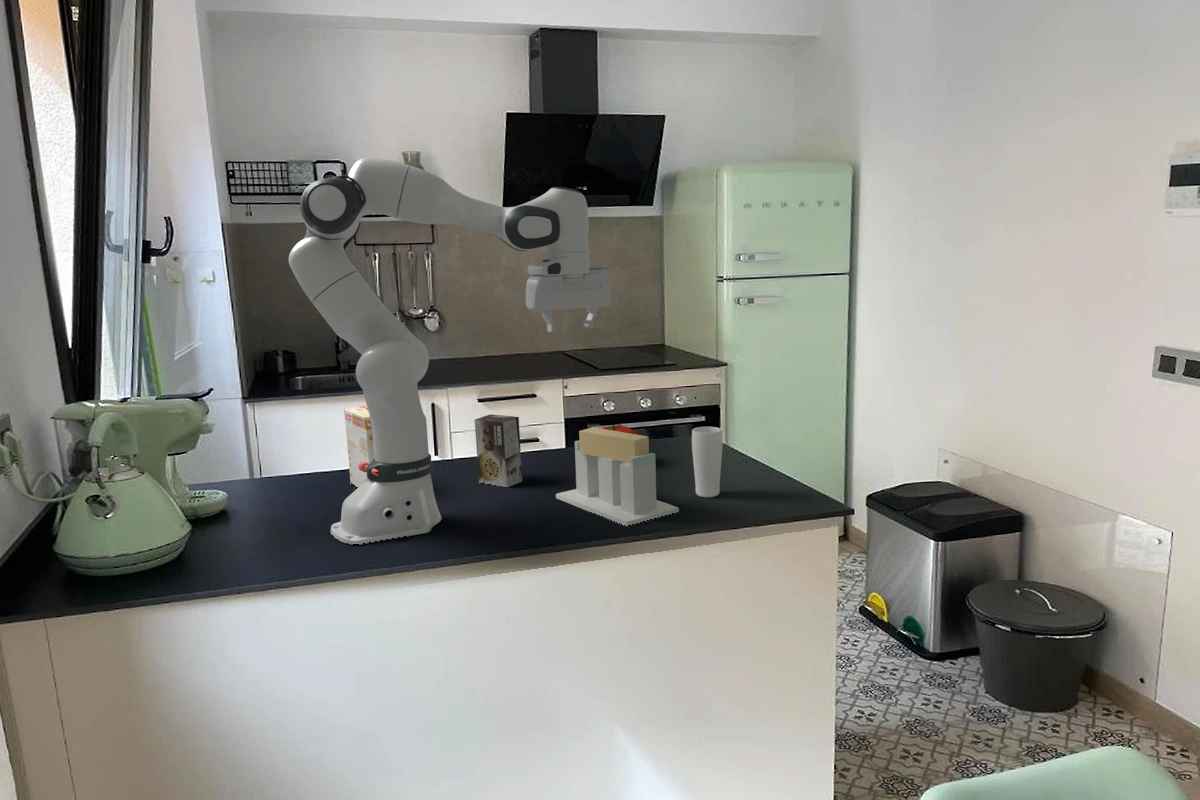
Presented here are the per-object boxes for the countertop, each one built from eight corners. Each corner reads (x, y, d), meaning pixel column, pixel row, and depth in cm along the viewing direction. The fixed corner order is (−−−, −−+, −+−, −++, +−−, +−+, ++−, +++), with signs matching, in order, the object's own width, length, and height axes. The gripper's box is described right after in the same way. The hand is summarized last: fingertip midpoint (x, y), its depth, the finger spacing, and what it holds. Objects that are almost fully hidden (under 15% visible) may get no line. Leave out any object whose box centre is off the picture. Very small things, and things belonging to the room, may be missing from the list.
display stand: (626, 526, 175) (624, 464, 172) (556, 498, 195) (553, 442, 193) (678, 512, 183) (677, 452, 180) (605, 486, 204) (603, 432, 201)
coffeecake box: (400, 494, 203) (394, 413, 199) (371, 500, 199) (363, 417, 195) (378, 480, 215) (371, 404, 211) (349, 486, 211) (342, 407, 207)
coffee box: (523, 481, 210) (520, 416, 207) (507, 488, 205) (503, 421, 202) (494, 476, 215) (490, 413, 212) (477, 483, 209) (473, 418, 206)
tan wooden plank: (635, 464, 180) (634, 440, 179) (580, 453, 191) (579, 431, 190) (649, 459, 183) (648, 436, 182) (593, 449, 194) (593, 427, 193)
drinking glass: (721, 499, 190) (721, 433, 187) (691, 498, 192) (690, 432, 189) (723, 490, 197) (723, 426, 194) (693, 489, 198) (693, 426, 195)
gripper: (599, 263, 193) (600, 325, 196) (520, 266, 181) (523, 332, 184) (616, 264, 188) (617, 327, 191) (536, 267, 176) (538, 334, 179)
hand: (570, 330), depth 187 cm, fingers open, 8 cm apart
